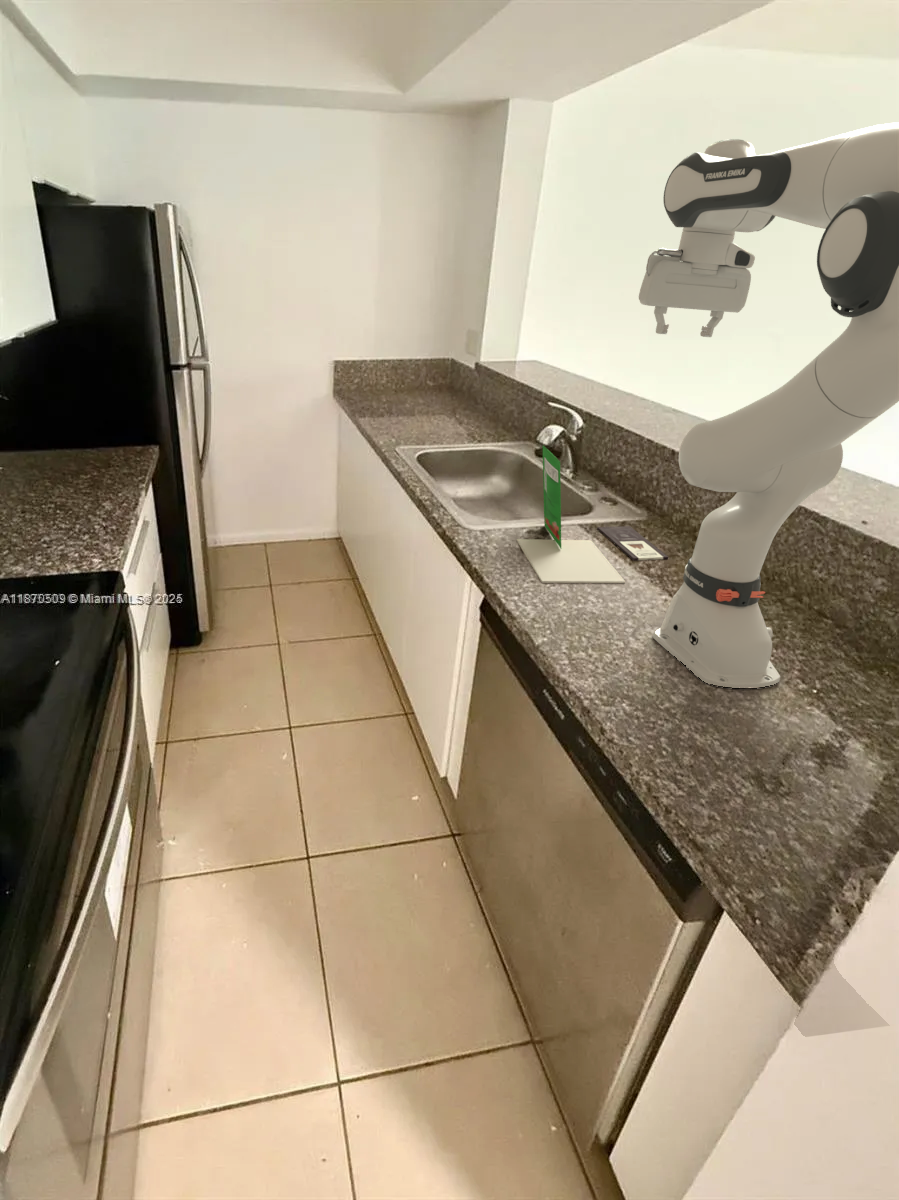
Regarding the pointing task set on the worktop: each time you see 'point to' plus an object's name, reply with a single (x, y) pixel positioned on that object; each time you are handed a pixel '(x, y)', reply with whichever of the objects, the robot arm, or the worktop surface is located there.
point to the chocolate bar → (632, 543)
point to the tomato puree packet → (552, 495)
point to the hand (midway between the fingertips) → (683, 335)
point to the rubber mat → (569, 561)
